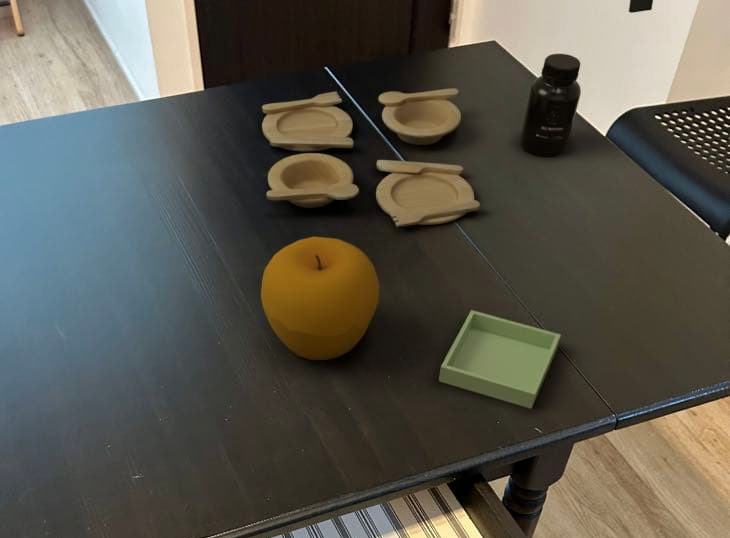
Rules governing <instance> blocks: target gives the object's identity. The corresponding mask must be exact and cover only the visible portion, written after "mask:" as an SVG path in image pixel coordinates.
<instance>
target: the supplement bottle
mask: <svg viewBox="0 0 730 538" xmlns="http://www.w3.org/2000/svg"><path fill="white" fill-rule="evenodd" d="M580 69H581V61H580V59H578V58H577V57H575V56H573V55H570V54H567V53H552V54H549V55H547V56H546V57H545V59H544V63H543V67H542V68H541V72H540V73H541V75H540V76H537V78H535V80H534V81H533V83H532V84H531V87H530V91H529V96H528V101H527V106H526V110H525V114H524V119H523V124H522V128H521V134H520V139H519V146H520V148H521V149H522V150H523V151H524V152H525V153H527V154H528V155H531V156H535V157H537V158H554V157H558V156H561V155H562V154H564V153H565V151H566V150H567V148H568V145H569V140H570V136H571V133H572V128H573V125H574V121H575V117H576V115H577V110H578V105H579V101H580V98H581V94H582V93H581V92H582V89H581V85H580V83H579V82H578V81H577V80H578V78H579V75H580V73H579V71H580Z"/></svg>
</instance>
